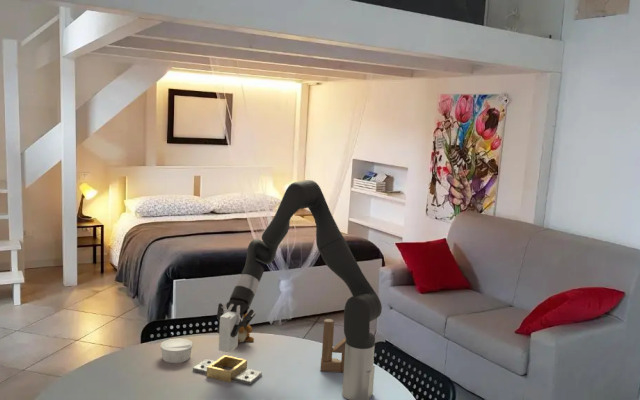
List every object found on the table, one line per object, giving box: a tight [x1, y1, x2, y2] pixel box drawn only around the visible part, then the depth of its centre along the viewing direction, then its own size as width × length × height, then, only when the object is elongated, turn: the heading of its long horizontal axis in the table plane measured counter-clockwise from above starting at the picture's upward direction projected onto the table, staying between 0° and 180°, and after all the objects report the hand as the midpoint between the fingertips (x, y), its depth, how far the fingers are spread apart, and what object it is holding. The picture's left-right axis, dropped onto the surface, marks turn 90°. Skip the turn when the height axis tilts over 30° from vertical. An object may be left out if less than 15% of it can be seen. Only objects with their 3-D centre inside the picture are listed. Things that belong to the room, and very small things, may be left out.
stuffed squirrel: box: [238, 313, 255, 344], centre depth 213 cm, size 10×14×13 cm
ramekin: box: [159, 337, 194, 364], centre depth 193 cm, size 11×11×5 cm
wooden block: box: [320, 318, 346, 374], centre depth 190 cm, size 4×11×18 cm, turn 89°
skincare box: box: [218, 312, 239, 353], centre depth 182 cm, size 6×4×12 cm
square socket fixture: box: [192, 354, 263, 386], centre depth 184 cm, size 22×11×4 cm, turn 69°
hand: (225, 334), depth 181 cm, fingers closed on skincare box, 4 cm apart
